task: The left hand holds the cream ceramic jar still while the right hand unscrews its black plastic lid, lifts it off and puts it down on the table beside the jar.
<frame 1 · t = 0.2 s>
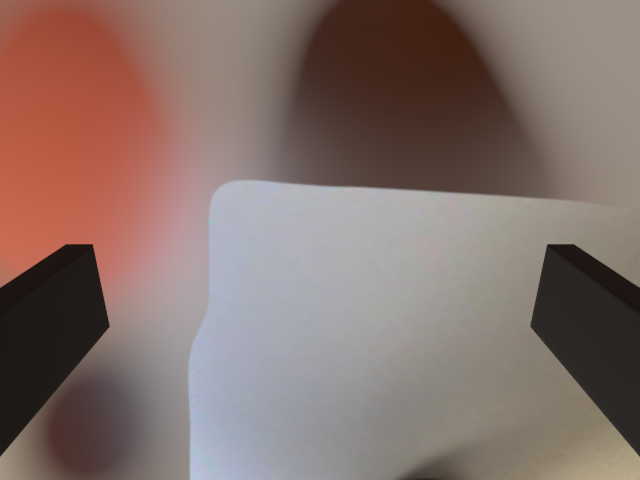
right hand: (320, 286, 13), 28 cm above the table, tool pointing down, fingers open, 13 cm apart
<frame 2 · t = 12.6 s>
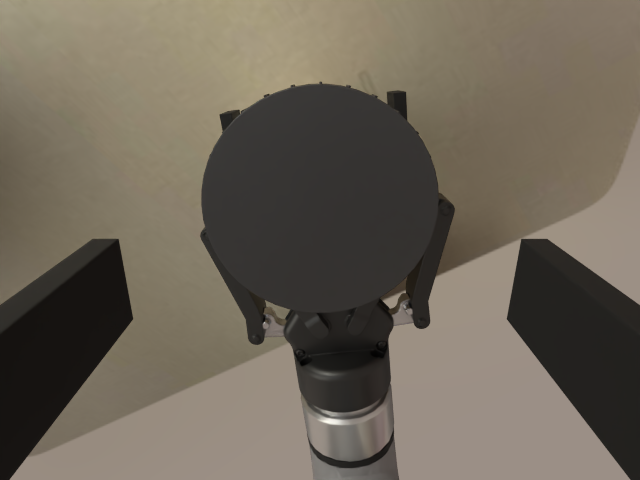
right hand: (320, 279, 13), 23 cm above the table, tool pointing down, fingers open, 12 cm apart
left hand: (312, 101, 27), fingers closed on jar, 10 cm apart
lid: (320, 208, 20), point 16 cm above the table, screwed on, not yet turned
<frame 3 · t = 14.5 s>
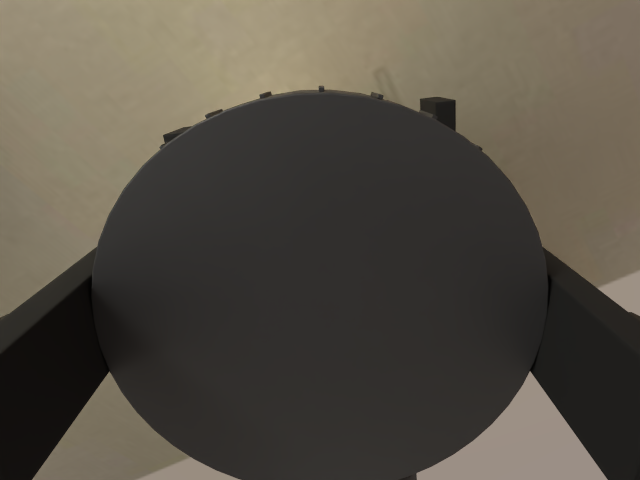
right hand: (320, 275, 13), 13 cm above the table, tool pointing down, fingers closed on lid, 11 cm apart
lid: (319, 322, 11), point 16 cm above the table, screwed on, not yet turned, touching right hand
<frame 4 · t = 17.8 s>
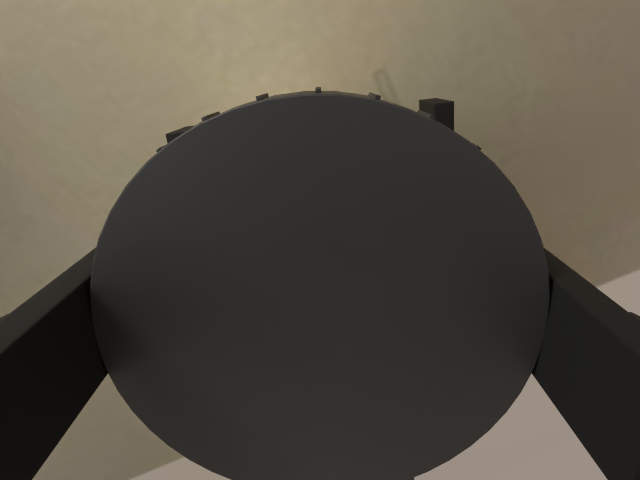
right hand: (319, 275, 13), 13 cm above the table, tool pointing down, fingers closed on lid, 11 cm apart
lid: (319, 325, 11), point 16 cm above the table, turned 104° so far, risen 0.3 cm, still on its thread, touching right hand
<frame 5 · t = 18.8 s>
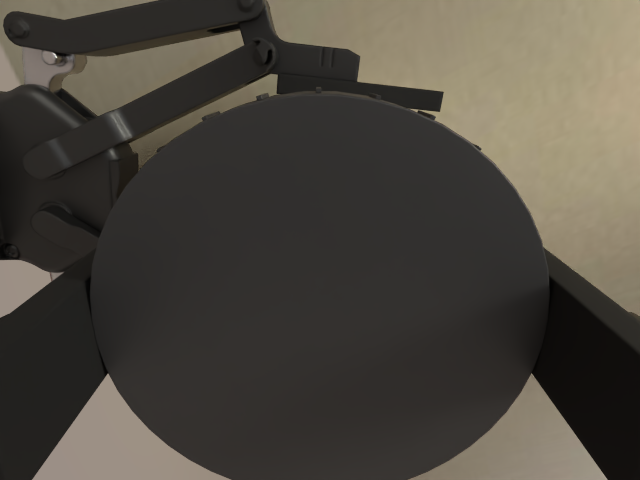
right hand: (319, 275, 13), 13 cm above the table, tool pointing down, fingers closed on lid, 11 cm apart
left hand: (410, 218, 20), fingers closed on jar, 10 cm apart
lid: (319, 325, 11), point 16 cm above the table, off its thread, touching right hand
when the right hand's fingers open (0 cm above the table, at t = 26.0 s): lid drops 2 cm, point 1 cm above the table.
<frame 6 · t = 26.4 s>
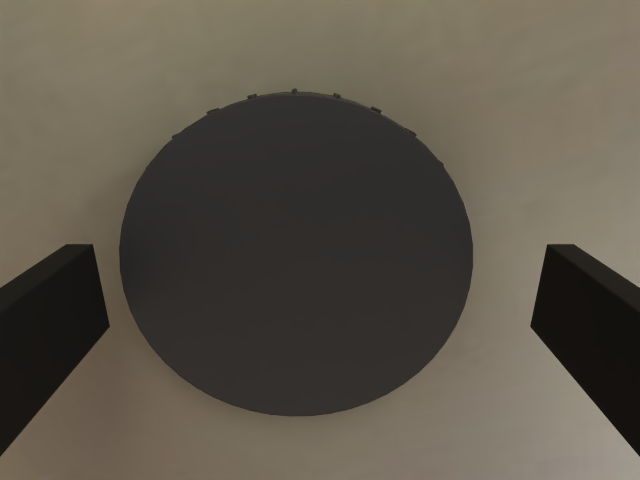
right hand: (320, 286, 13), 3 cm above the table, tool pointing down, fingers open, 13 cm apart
lid: (298, 274, 14), point 1 cm above the table, off its thread
when the left hand's fingers open (6 cm above the table, at t = 27.0 s): jar stays where it is, on the table.
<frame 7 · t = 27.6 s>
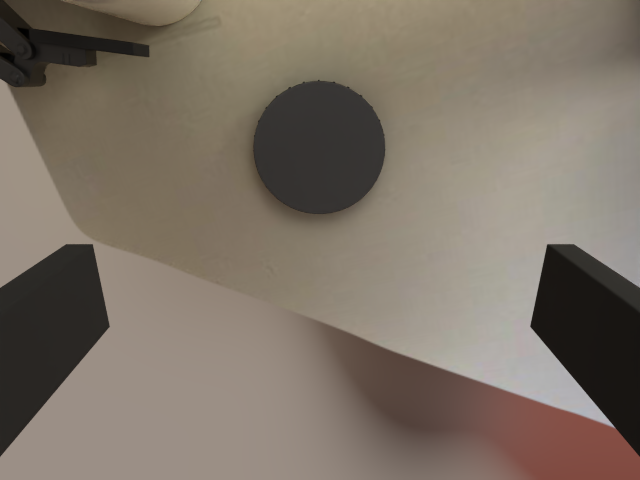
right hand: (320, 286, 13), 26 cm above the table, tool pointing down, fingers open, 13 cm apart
lid: (319, 150, 36), point 1 cm above the table, off its thread
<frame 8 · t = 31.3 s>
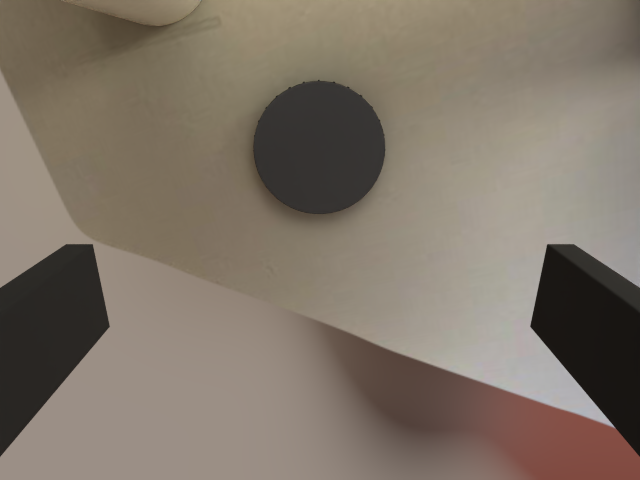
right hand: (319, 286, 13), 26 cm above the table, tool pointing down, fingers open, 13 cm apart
lid: (319, 150, 36), point 1 cm above the table, off its thread
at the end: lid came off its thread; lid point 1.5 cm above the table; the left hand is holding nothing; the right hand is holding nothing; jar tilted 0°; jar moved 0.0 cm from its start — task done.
